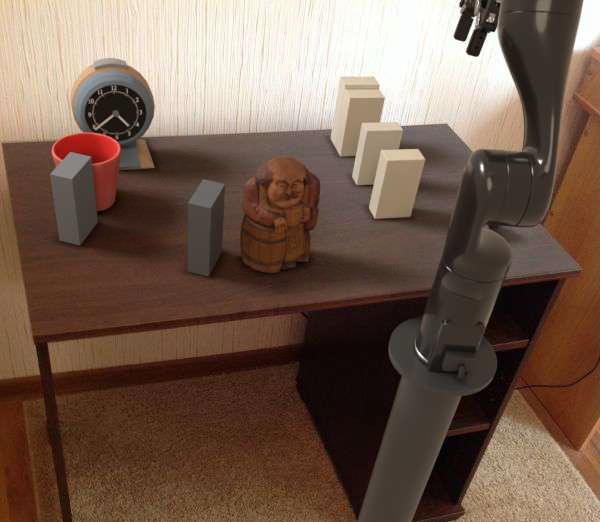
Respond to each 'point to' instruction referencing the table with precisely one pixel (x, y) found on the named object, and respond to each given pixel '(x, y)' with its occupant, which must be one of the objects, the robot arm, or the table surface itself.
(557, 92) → the robot arm
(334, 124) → the cream books
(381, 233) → the table surface
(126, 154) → the alarm clock
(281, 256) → the wooden figurine
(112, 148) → the flower pot
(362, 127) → the beige block
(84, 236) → the pair of grey blocks
